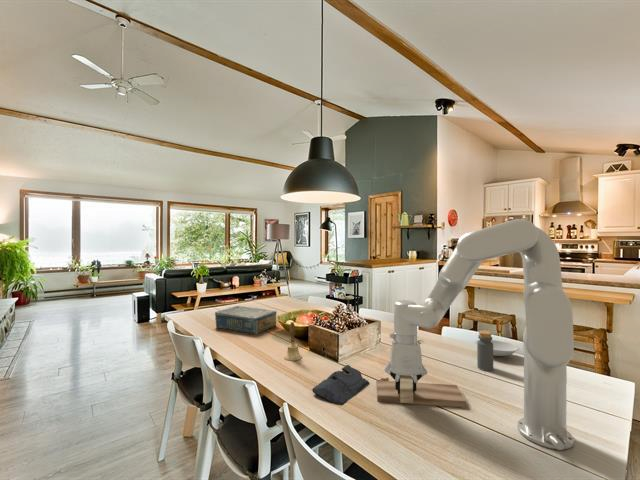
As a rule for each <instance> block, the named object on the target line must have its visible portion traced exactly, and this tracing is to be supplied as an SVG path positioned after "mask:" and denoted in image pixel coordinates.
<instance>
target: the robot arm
mask: <svg viewBox="0 0 640 480" xmlns="http://www.w3.org/2000/svg"><path fill="white" fill-rule="evenodd" d="M516 253H519V254H520V257H521V260H522V270H523V294H522V295H523V296H522V301H523V304H524V309H525V310H524V312H525V327H524V329H523V334H522V340H523V341H522V343H523V418H521V419H520V418H519V420H518V421H517V430H518V431H519V433H520V434H521V435H523V437H524V438H526V439H527V440H529V441H530V442H533V443H535V444H536V445H540V446H542V447H545V448H547V449H554V450H558V451H561V450H562V451H563V450H569V449H571V448H572V447H573V446H574V445H575V439H574V436H573V435H572V433H571V432H570V431H568V430H567V383H568V379H567V377H568V375H567V374H568V373H567V365H568V363H569V362H570V361H571V360H572V358H573V355H574V351H575V350H574V346H575V345H574V342H575V339H574V320H573V319H574V315H573V307H572V303H571V299H570V298H569V296H568V294H567V293H565V291H564V289H563V279H562V268H561V260H560V259H561V258H560V252H559V249H558V247H557V245H556V243H555V242H554V240H553V239H552V238H551V237H550V235H548V234H547V233H546V232H545V231H544V230H543V229H541V228H539V227H537V226H536V225H535V224H534V223H533V222H531V221H530V220H528V219H522V218H515V219H511V220H509V221H505V222H501V223H497V224H495V225H491V226H488V227H485V228H480V229H475V230H471V231H467V232H466V233H463V234H462V235H461V236H460V237H459V239H458V240H457V242H456V246H455V248H454V249H453V251H452V253H451V254H450V256H448V259H447V261H446V262H445V264H444V265H443V266H442V267H441V269H440V271H439V274H438V278H437V281H436V283H435V285H434V286H433V288H432V290H431V291H430V293H429V294H428V296H427V298H426V299H425V301H424V302H422V304H417V303H416V302H414V301H413V300H409V299H408V300H407V299H406V300H405V299H403V300H402V299H401V300H396V301H395V302H394V303H393V333H389V339H392V341H391V345H390V356H389V362H388V363H387V364H386V366H385V367H384V372H385V373H387V374H388V375H389V376H391V378H393V379H394V381H395V389H396V390H397V391H398V394H400V380H399V376H400V374H406V375H412V378H413V395H415V391H416V383H419V382H418V381H420V380H421V379H422V377H425V376H427V375H428V370H427V369H426V367H425V366H424V365H423V358H422V357H423V356H422V348H421V342H420V341H419V340H418V327H420V328H423V329H433V328H436V327H437V326H438V325H439V323H440V322H441V321H442V319H443V318H444V316H445V315H446V313H447V311H448V310H449V308H450V307H451V305H452V304H453V302H454V301H455V300H456V299H457V297H458V295H459V294H460V293H461V292H463V291H464V289H465V288H466V287H467V285H468V284H469V282H470V281H471V280H472V278H473V276H475V274H476V272H477V270H478V269H479V268H480V267H481V265H482V263H483V261H486V260H491V259H495V258H498V257H503V256H506V255H507V256H508V255H512V254H516ZM418 341H419V342H420V343H419V342H418Z"/></svg>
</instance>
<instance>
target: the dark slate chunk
mask: <svg viewBox="0 0 640 480" xmlns="http://www.w3.org/2000/svg"><path fill="white" fill-rule="evenodd" d="M369 384H370V382H369V380H367V379H366V378H363V376H362V373H361V371H360V370H358V369H356V368H355V367H352V366H350V365H348V364H346V365H345V366H343V367H342V368H341V370H337V371H334V372H333V373H331V374H330V375H329V376H328V377H327V378H326V379H323V380H322V381H321V382H319V384H317V385H315V386H314V387H312V389H311V390H312V393H314V394H315V395H317V396H319V397H322V398H324V399H326V400H327V401H329V402H331V403H333V404H336V405H345V404H347V402H349V401H350V400H351V399H353V398H354V397H355V396H356V395H358V394H359V393H360V392H361V391H363V390H364V389H365V388H366V387H367V386H369Z"/></svg>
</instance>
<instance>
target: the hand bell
mask: <svg viewBox="0 0 640 480" xmlns="http://www.w3.org/2000/svg"><path fill="white" fill-rule="evenodd" d="M294 323H295V322H293V321H291V322H290V325H289V335H290V343H289V345H288V346H287V351H286V353H285V354H284V356H283V359H284V360H286V361H290V362H294V361H298V360H301V359H302V358H303V355H302V353H301V352H300V351H299V346H298V344H297V343H295V334H296V326H295V324H294Z"/></svg>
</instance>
